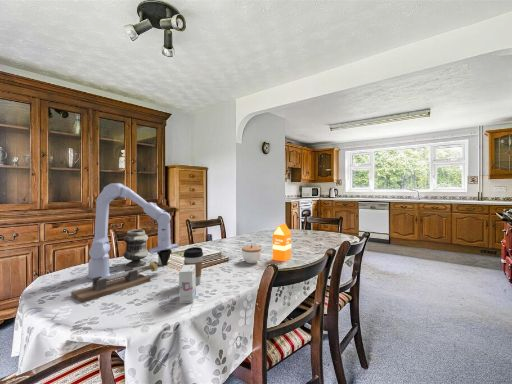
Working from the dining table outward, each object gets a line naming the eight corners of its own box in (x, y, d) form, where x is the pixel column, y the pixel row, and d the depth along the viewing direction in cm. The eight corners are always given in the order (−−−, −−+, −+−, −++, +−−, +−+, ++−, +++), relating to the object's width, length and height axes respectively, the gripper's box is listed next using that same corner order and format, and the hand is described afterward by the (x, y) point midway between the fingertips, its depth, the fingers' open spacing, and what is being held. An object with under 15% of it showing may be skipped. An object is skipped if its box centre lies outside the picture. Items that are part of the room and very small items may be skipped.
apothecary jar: (133, 269, 135) (133, 233, 134) (118, 265, 140) (118, 231, 140) (153, 263, 145) (153, 230, 144) (138, 259, 151) (138, 228, 150)
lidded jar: (264, 262, 148) (265, 245, 148) (248, 265, 142) (248, 248, 141) (254, 257, 157) (254, 242, 156) (238, 260, 151) (238, 244, 150)
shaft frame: (71, 295, 103) (71, 281, 103) (138, 276, 125) (138, 264, 125) (82, 302, 97) (81, 287, 97) (150, 281, 119) (150, 268, 119)
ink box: (183, 293, 106) (183, 264, 105) (196, 293, 106) (196, 263, 106) (178, 303, 97) (178, 271, 97) (192, 303, 98) (192, 271, 97)
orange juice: (291, 257, 158) (291, 223, 157) (284, 261, 150) (284, 225, 149) (279, 255, 162) (279, 222, 161) (272, 259, 154) (272, 224, 154)
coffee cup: (206, 281, 119) (206, 247, 119) (196, 288, 111) (196, 252, 111) (190, 279, 122) (190, 246, 121) (179, 285, 114) (179, 250, 113)
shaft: (96, 285, 108) (96, 274, 108) (152, 269, 127) (152, 260, 127) (101, 287, 105) (101, 276, 105) (157, 271, 125) (157, 262, 125)
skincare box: (165, 265, 141) (165, 242, 140) (157, 265, 141) (157, 242, 141) (171, 262, 147) (171, 240, 146) (164, 261, 148) (164, 239, 147)
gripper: (155, 241, 121) (155, 270, 122) (181, 236, 133) (181, 263, 133) (146, 239, 126) (147, 267, 126) (173, 234, 137) (173, 260, 138)
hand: (164, 265), depth 130 cm, fingers closed
